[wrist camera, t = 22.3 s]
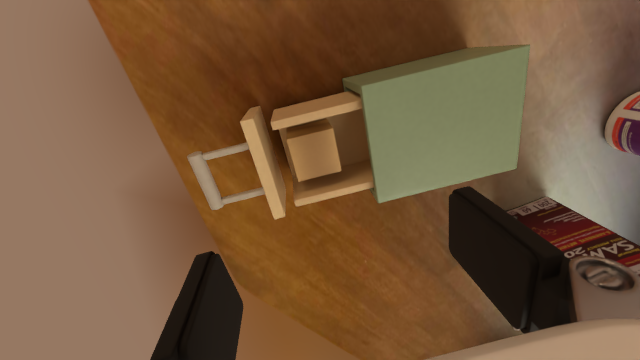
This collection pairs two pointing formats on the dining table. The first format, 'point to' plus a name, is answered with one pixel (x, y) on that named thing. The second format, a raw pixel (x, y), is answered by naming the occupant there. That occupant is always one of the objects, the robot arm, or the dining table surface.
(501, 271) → the robot arm
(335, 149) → the block
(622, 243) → the supplement box
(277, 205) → the drawer
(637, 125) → the pill bottle
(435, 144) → the cabinet
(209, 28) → the dining table surface
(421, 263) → the dining table surface
